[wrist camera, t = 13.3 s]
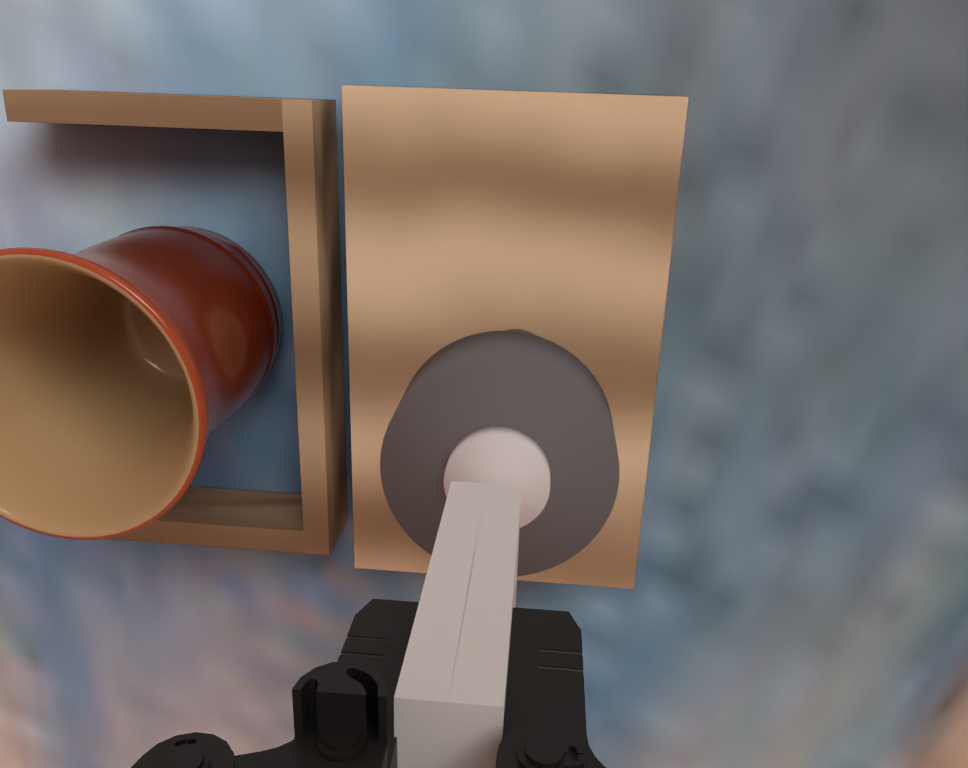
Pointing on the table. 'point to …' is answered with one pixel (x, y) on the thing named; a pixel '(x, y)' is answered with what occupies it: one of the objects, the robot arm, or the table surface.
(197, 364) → the mug
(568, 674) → the robot arm
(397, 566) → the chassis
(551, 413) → the wheel
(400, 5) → the table surface
